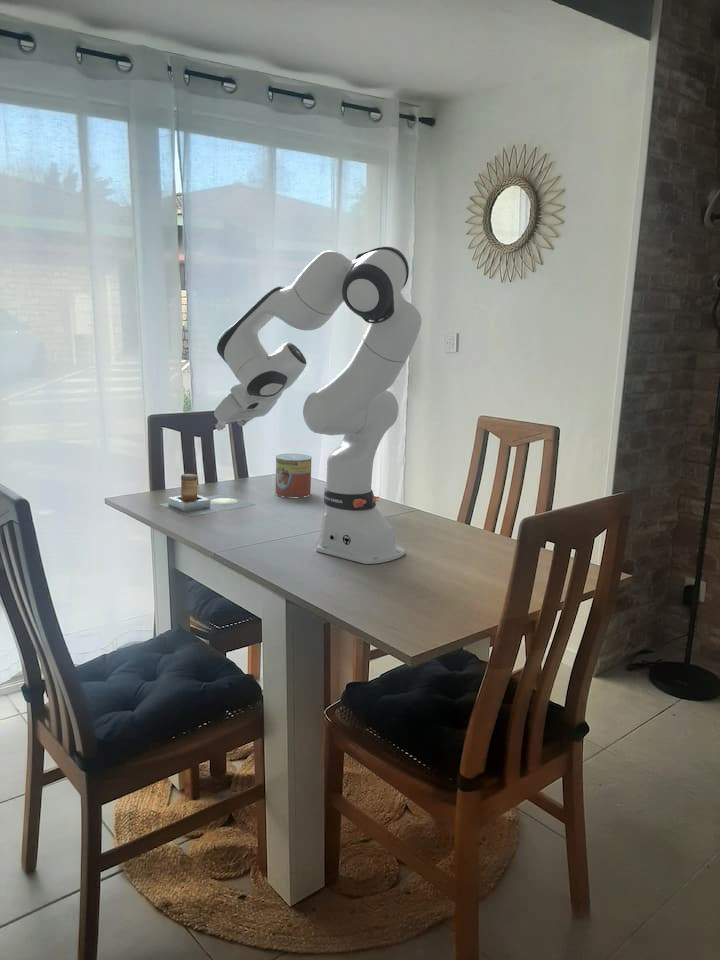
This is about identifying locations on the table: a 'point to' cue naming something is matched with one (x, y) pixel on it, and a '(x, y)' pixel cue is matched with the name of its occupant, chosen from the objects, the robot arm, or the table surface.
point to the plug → (188, 487)
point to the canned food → (293, 475)
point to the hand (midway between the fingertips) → (229, 426)
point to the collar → (189, 503)
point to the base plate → (215, 505)
